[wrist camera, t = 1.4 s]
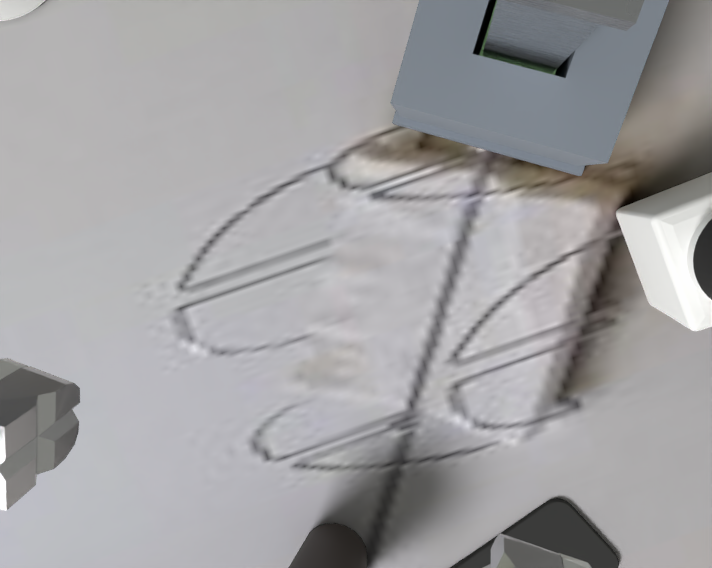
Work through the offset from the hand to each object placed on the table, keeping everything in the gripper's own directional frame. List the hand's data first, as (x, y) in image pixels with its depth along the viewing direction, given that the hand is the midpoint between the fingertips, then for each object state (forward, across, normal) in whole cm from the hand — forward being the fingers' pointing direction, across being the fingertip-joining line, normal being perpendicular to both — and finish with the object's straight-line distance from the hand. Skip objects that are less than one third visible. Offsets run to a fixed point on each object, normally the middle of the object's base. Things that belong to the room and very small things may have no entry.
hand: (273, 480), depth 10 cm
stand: (+33, -3, -10) cm, 34 cm away
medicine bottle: (+32, -17, -1) cm, 36 cm away
